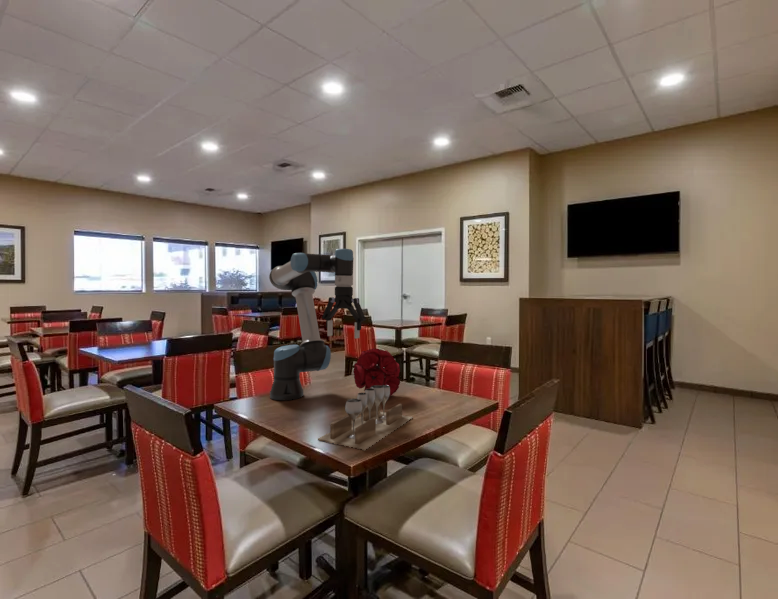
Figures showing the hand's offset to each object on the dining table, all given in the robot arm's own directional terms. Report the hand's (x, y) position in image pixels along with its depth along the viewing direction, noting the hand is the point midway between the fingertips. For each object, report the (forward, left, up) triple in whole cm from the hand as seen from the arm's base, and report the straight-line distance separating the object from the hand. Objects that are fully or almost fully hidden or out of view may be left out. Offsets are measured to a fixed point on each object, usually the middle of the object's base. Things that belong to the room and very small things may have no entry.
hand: (343, 337), depth 170 cm
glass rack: (+23, -17, -30) cm, 41 cm away
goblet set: (+22, -16, -30) cm, 41 cm away
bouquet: (+3, +25, -30) cm, 39 cm away
